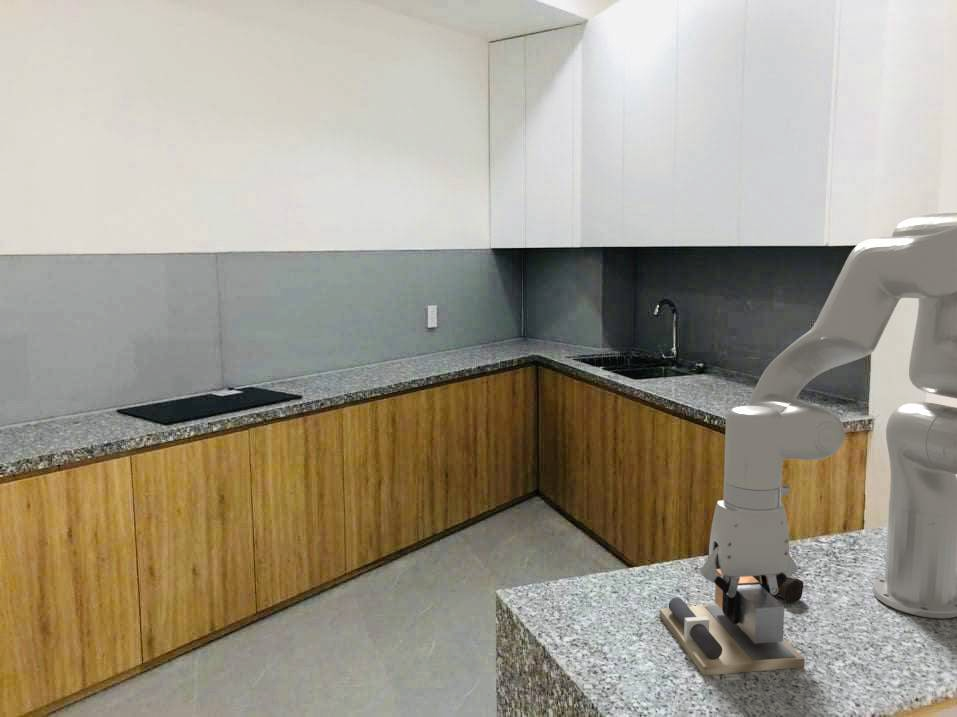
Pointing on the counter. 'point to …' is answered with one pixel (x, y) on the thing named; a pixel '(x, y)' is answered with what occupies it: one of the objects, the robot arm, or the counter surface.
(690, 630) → the rod
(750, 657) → the board
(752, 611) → the grey and copper block
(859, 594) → the counter surface
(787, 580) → the hand tool
